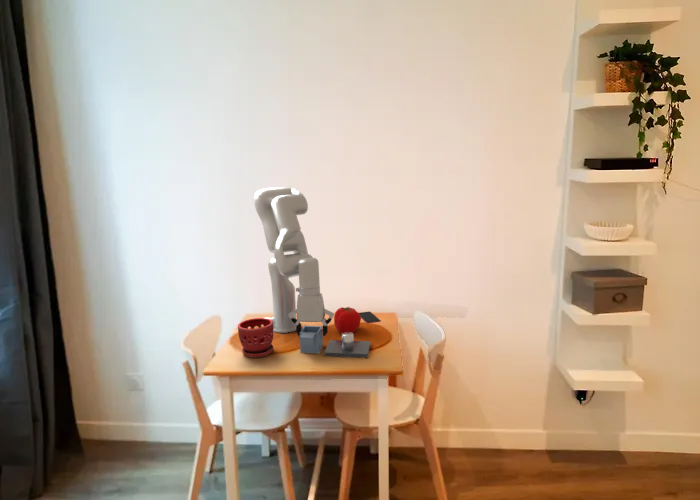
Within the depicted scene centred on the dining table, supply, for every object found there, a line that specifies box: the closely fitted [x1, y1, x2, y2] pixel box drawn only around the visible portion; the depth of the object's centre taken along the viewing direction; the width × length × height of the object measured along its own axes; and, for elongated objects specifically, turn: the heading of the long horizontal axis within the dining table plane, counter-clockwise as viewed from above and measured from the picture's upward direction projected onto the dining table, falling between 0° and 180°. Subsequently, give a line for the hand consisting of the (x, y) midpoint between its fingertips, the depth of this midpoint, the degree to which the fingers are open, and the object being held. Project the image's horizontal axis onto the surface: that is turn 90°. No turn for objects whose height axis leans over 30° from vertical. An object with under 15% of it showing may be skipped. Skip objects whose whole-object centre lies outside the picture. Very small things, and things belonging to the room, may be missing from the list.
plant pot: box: [237, 317, 274, 358], centre depth 192 cm, size 13×13×12 cm
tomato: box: [333, 306, 362, 334], centre depth 212 cm, size 11×13×10 cm
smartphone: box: [358, 311, 382, 324], centre depth 229 cm, size 7×1×14 cm
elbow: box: [299, 325, 324, 354], centre depth 193 cm, size 7×12×8 cm, turn 172°
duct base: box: [323, 332, 372, 359], centre depth 193 cm, size 16×12×6 cm
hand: (312, 334), depth 193 cm, fingers open, 9 cm apart
